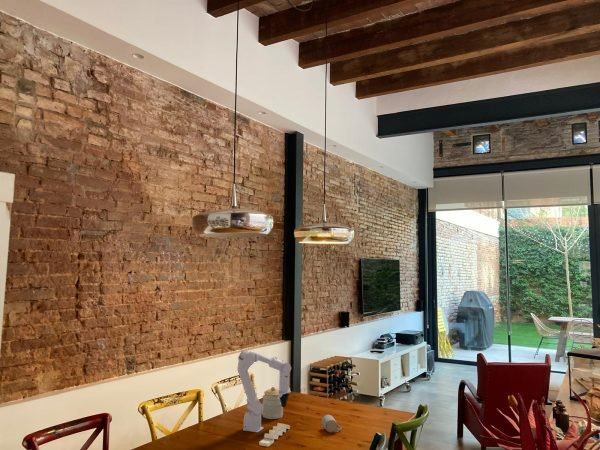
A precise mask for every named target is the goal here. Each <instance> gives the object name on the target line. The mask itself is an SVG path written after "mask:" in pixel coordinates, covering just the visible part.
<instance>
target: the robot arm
mask: <svg viewBox="0 0 600 450" xmlns="http://www.w3.org/2000/svg"><path fill="white" fill-rule="evenodd" d="M237 359H238V362H237V373H238V375H239V379H240V381H241V383H242V388H243V391H244V393H245V395H246V402H247V403H246V408H247V409H248V412H247V411H246V412H245V414H244V417H243V429H242V431H245V432H253V433H260V432H261V431H262V430H263V429H264V426H262V411H263V403H261V402H260V399H259V397H258V396H257V393H256V391H255V388H254V385H253V381H252V379H251V377H250V374H249V369H250V368H251V366H252V365H253V364H255V363H257V362H259V361H260V362H262V363H265V364H268V367H269V368H272V369H274V370H277V371H279V384H278V385H279V387H278V390H279V393H278V397H279V398H280V401H281V406H282V407H283V408H286V406H287V403H288V399H289V397H290V393H291V392H292V391H291V387H290V374H291V373H290V372H291V370H292V366H291V364H290V363H289V362H287V361H285V360H284V359H279V358H278V357H276V356H275V357H270V358H269V357H267V356H265V355H262V354H260V353H258V352H253V351H248V350H242V351H241V352H240V353H239V355H238V357H237Z"/></svg>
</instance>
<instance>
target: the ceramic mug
mask: <svg viewBox="0 0 600 450" xmlns="http://www.w3.org/2000/svg"><path fill="white" fill-rule="evenodd" d="M321 426H322V427H323V428H324V429H325V431H326V432H328V433H334V432H336V431H339V432H341V430H342V427H341V426H340V425H339V424H338V423H337V421H336V419H335V418H334V416H333V415H330V414H325V415H324V416H323V417H322V419H321Z"/></svg>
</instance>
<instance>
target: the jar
mask: <svg viewBox="0 0 600 450" xmlns="http://www.w3.org/2000/svg"><path fill="white" fill-rule="evenodd" d="M278 393H279V388H278V389H276V387H275V386H271V388H268V389H266V391H264V393H263V395H262V399H263V400H262V403H261V404H262V405H263V411H262V413H261V416H262V417H263V418H265V419H267V420H276V419H281V418H283V415H284V407H282V406H281V401H280V398H279V397H278Z"/></svg>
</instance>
